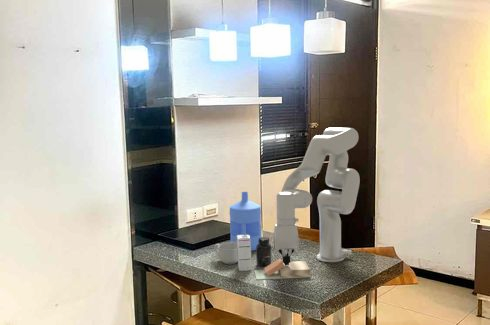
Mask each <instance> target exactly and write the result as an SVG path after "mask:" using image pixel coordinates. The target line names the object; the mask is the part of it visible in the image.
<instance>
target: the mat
mask: <svg viewBox="0 0 490 325" xmlns="http://www.w3.org/2000/svg"><path fill="white" fill-rule="evenodd" d="M253 271H254V272H253V273H254V276H255V279H256V281H259V280H260V281H261V280H262V281H263V280H279V279H281V280H282V279H283V278H281V276H280V274H279V271H276V272H275V273H273V274H272V275H270V276H268V275H267V274H266V272H265V269H255V270H254V269H253ZM297 278H299V279H300V278H302V279H303V277H288V278H287V279H297ZM307 278H311V275H310V276H308V277H307Z"/></svg>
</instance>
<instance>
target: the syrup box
mask: <svg viewBox="0 0 490 325" xmlns="http://www.w3.org/2000/svg"><path fill="white" fill-rule="evenodd" d="M237 250H238V262H237V266H238V268H237V269H238V271H240V272H243V271H245V272H246V271H247V272H248V271H252V270H253V269H252V268H253V265H252V251H251V242H250V236H249V235H237Z"/></svg>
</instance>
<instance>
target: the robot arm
mask: <svg viewBox="0 0 490 325" xmlns="http://www.w3.org/2000/svg"><path fill="white" fill-rule="evenodd" d="M358 142H359V133H358V131H357V130H356V129H355V128H353V127H332V126H331V127H328V128H325V130H323V133H322V134H321V135H320V134H319V135H315V136H313V137H312V138H311V140H310V142H309V145H308V147H307V150H306V151H305V155H304V157H303V159H302V162H301V163H300V165H299V166H298V167H297V168H296V169H295V170H292V172H291V173H290V174H289V175H288V177H287V178H286V180H285V181H284V184H283V186H282V188H281V191H280V192H278V193H277V194H276V223H275V224H274V228H273V249H272V251H273V252H275V253H280V255H282V262H283V263H284V264H285V266H286V265H289V263H290V262H291V256H292V255H293V253H294V252H298V251H299V250H300V242H299V241H300V240H299V232H298V226H297V224H296V223H299V218H297V217H296V209H306V208H308V207H309V206H310V205H311V204H312V203H313V196H312V194H311V193H310V192H309V191H307V190H303V189H299V188H298V187H299V185H300V184H301V183H302V182H303V181H304V180H307V179H309V178H311V177H314V176H315V175H316V176H317V175H318V174H320V172H321V169H322V167H323V165H324V162H325V160H326V157H327V156H329V157H328V158H329V159H328V164H327V168H326V174H325V179H324V180H325V184H326V185H327V186H328V187H330V188H334V189H338V190H333V189H324V190H322V191H320V192H319V193H318V196H317V197H316V198H317V199H316V204H317V208H318V213H319V253H318V254H317V255H316V259H317V260H318V261H319V262H320V261H321V262H323V263H340V262H343V261H344V260H345V256H346V255H352V249H346V248H345V249H343V248H342V220H341V217H340V214H341V215H350V214H351V213H352V212H354V211H353V210H354V209H355V207H356V202H357V197H358V195H359V194H358V193H359V189H360V181H361V179H360V174H359V172H358V171H357V170H356V169H355V168H349V167H348V163H349V154H348V151H349V150H350V149H352V148H354V147H355V146H356V145H357V144H358ZM297 188H298V189H297ZM339 189H341V191H339ZM286 250H287V252H286Z"/></svg>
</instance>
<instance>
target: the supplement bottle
mask: <svg viewBox="0 0 490 325" xmlns="http://www.w3.org/2000/svg"><path fill="white" fill-rule="evenodd" d="M258 240H259V241H258V243H259V244H258V245H257V246H256V250H255V252H256V253H255V255H256V256H255V258H256V259H255V262H256V265H257V266H258V267H260V268H261V267H263V268H265V267H267V266H268V265H270V264H271V263H273V262H272V261H273V260H272V254H273V253H272V252H273V249H272V245H271V243H270V238H269V237H266V236H263V237H262V236H261V238H259V239H258Z"/></svg>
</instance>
